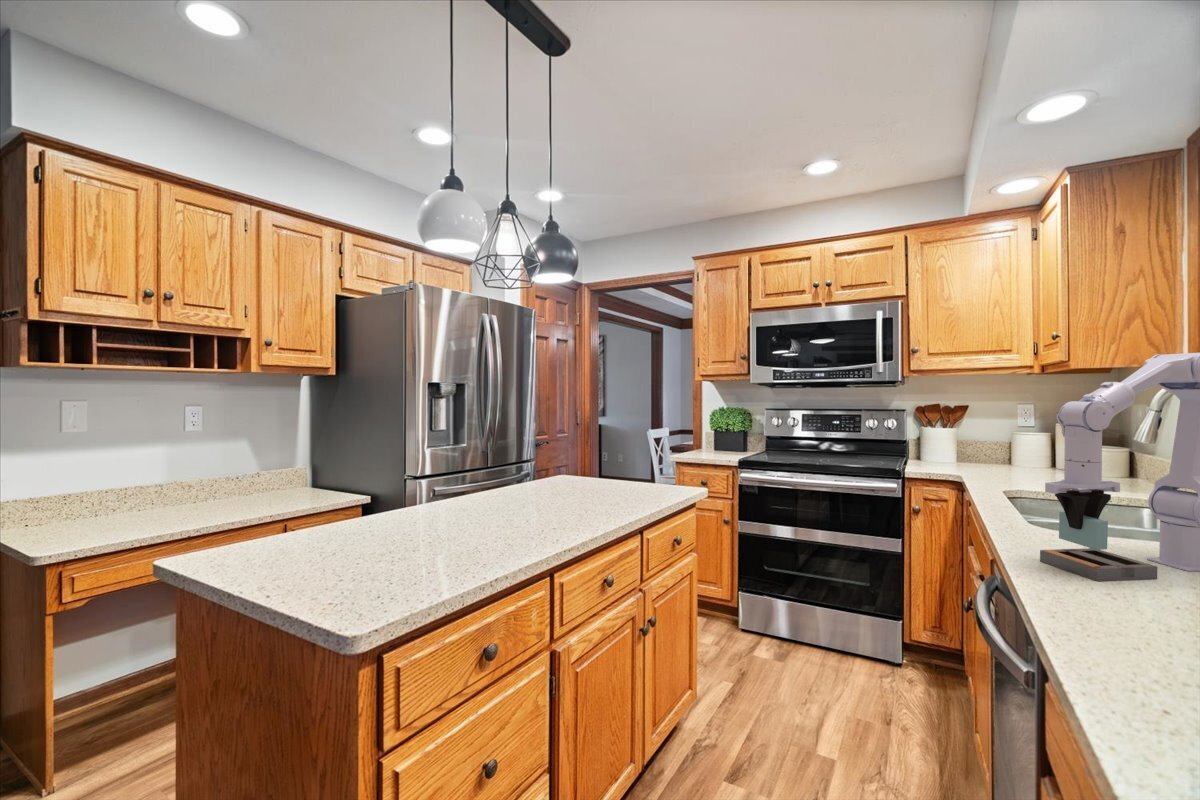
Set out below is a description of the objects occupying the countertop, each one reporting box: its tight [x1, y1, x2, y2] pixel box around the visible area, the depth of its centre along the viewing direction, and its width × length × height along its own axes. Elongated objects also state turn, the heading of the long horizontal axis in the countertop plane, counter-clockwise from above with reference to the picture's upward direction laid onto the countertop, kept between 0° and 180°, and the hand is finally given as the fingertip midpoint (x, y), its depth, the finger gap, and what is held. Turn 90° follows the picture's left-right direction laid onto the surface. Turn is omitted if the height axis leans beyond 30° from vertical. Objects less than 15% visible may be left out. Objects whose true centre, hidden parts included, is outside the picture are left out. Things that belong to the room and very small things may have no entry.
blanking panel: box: [1058, 511, 1109, 551], centre depth 114 cm, size 2×8×6 cm, turn 5°
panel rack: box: [1039, 547, 1159, 582], centre depth 114 cm, size 13×13×3 cm
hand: (1082, 528), depth 114 cm, fingers closed on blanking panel, 2 cm apart
